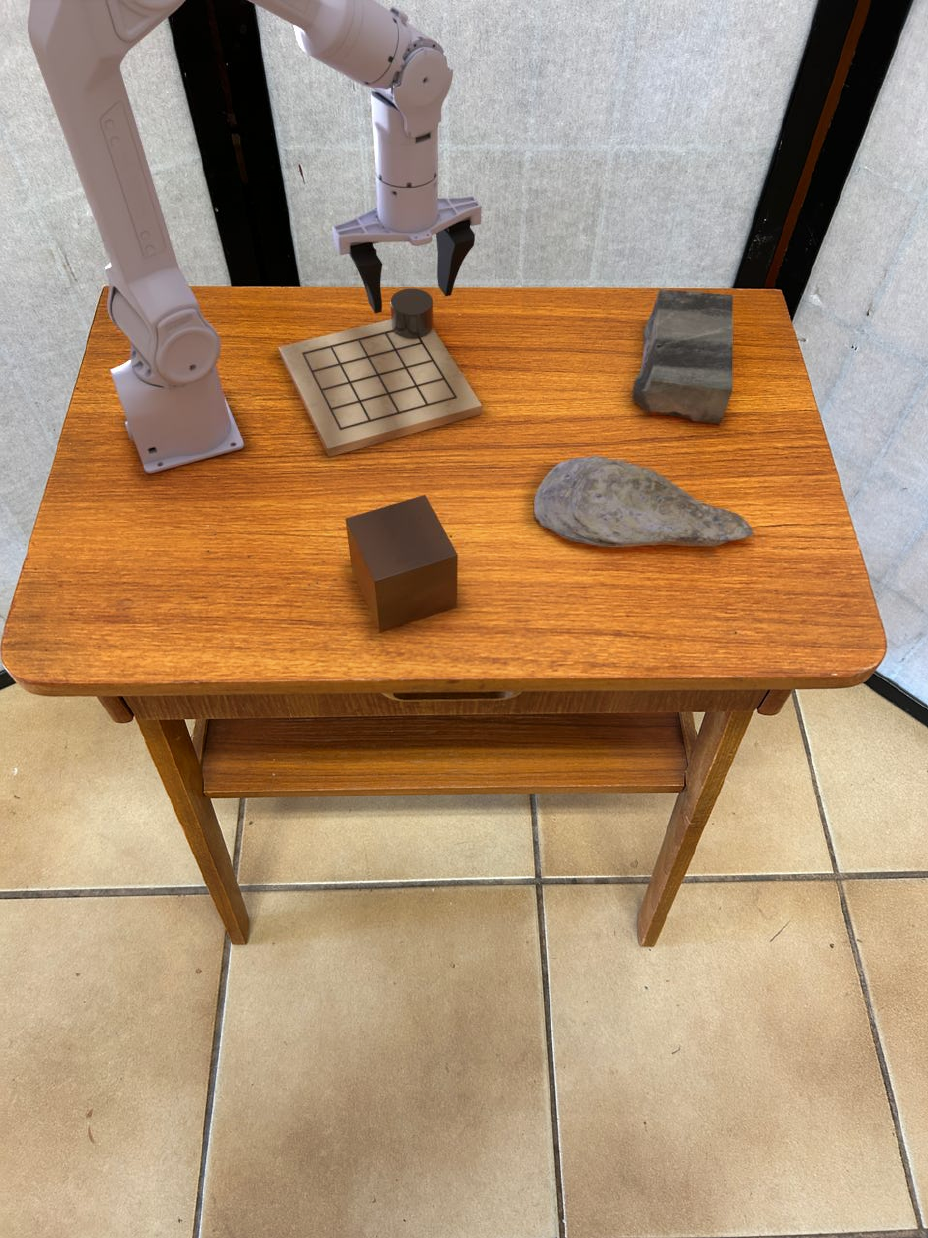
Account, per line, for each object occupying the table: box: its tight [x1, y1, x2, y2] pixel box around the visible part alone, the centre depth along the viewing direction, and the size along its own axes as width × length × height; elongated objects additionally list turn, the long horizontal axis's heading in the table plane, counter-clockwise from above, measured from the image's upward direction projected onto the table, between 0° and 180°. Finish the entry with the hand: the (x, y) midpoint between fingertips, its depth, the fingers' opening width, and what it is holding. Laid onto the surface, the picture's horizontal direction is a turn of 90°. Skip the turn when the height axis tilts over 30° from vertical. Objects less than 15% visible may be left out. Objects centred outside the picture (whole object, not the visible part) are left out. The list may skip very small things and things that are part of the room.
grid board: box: [278, 318, 483, 458], centre depth 96 cm, size 16×16×1 cm
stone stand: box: [345, 494, 459, 633], centre depth 79 cm, size 7×7×7 cm
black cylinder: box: [389, 287, 434, 338], centre depth 99 cm, size 4×4×3 cm
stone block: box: [632, 289, 734, 425], centre depth 97 cm, size 9×14×5 cm, turn 171°
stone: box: [533, 455, 755, 548], centre depth 86 cm, size 20×4×10 cm
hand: (410, 298), depth 98 cm, fingers open, 7 cm apart
